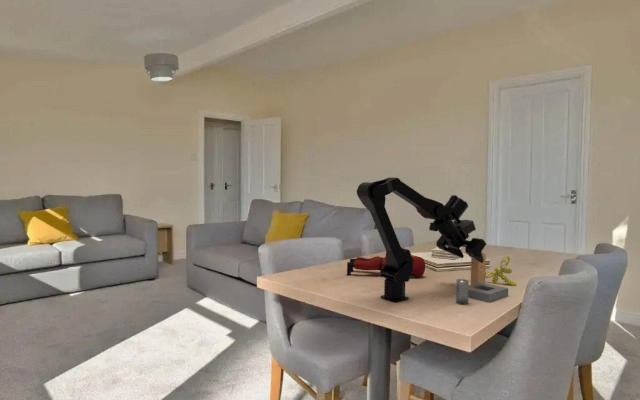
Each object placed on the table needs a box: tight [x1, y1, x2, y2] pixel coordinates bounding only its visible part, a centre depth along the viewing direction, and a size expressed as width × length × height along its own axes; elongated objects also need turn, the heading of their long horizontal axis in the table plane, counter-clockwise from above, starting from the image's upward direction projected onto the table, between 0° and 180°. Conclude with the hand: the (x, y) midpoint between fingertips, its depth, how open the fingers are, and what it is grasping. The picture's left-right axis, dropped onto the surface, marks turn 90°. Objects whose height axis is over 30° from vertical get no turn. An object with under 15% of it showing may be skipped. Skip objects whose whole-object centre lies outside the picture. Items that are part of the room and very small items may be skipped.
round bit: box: [455, 278, 470, 306], centre depth 134 cm, size 4×4×7 cm
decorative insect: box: [485, 255, 517, 287], centre depth 158 cm, size 13×3×10 cm
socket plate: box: [468, 282, 509, 303], centre depth 142 cm, size 12×10×2 cm
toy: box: [346, 255, 426, 279], centre depth 170 cm, size 28×8×30 cm
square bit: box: [470, 252, 487, 285], centre depth 153 cm, size 3×3×12 cm
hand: (472, 259), depth 151 cm, fingers open, 9 cm apart
